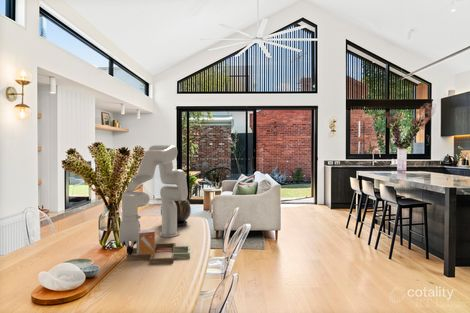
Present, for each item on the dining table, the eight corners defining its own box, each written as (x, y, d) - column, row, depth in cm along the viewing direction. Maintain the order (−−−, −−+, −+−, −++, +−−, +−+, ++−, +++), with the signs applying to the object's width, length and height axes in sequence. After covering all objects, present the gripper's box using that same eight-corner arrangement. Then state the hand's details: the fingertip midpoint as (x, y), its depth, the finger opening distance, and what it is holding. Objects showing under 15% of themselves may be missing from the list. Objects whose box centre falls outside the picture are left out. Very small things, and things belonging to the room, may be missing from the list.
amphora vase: (188, 228, 232) (188, 188, 232) (157, 228, 233) (157, 188, 232) (192, 221, 254) (192, 184, 253) (164, 221, 254) (164, 184, 253)
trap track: (132, 249, 184) (132, 244, 184) (189, 247, 188) (189, 242, 188) (123, 265, 158) (123, 260, 158) (190, 262, 162) (190, 257, 162)
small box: (139, 259, 167) (138, 233, 167) (136, 255, 173) (136, 230, 173) (155, 256, 171) (155, 231, 171) (152, 253, 177) (151, 228, 176)
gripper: (145, 216, 175) (146, 251, 175) (116, 217, 173) (116, 252, 174) (143, 219, 168) (143, 256, 168) (112, 220, 166) (112, 257, 166)
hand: (129, 254), depth 171 cm, fingers closed
